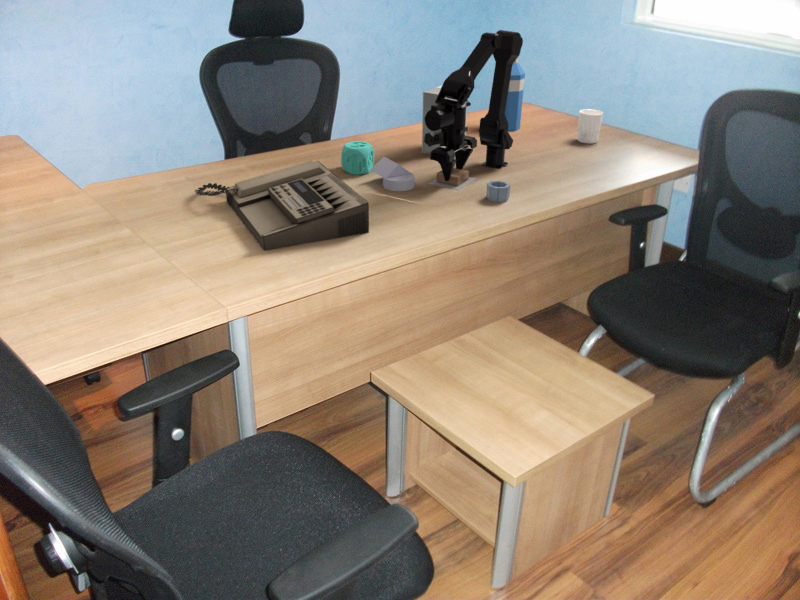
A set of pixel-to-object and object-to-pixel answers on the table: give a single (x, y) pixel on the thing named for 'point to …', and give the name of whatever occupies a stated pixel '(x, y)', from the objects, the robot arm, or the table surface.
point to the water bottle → (515, 97)
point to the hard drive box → (428, 100)
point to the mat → (451, 184)
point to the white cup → (589, 125)
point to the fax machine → (296, 206)
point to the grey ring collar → (498, 191)
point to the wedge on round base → (394, 175)
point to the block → (454, 177)
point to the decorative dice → (357, 157)
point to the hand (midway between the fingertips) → (452, 177)
